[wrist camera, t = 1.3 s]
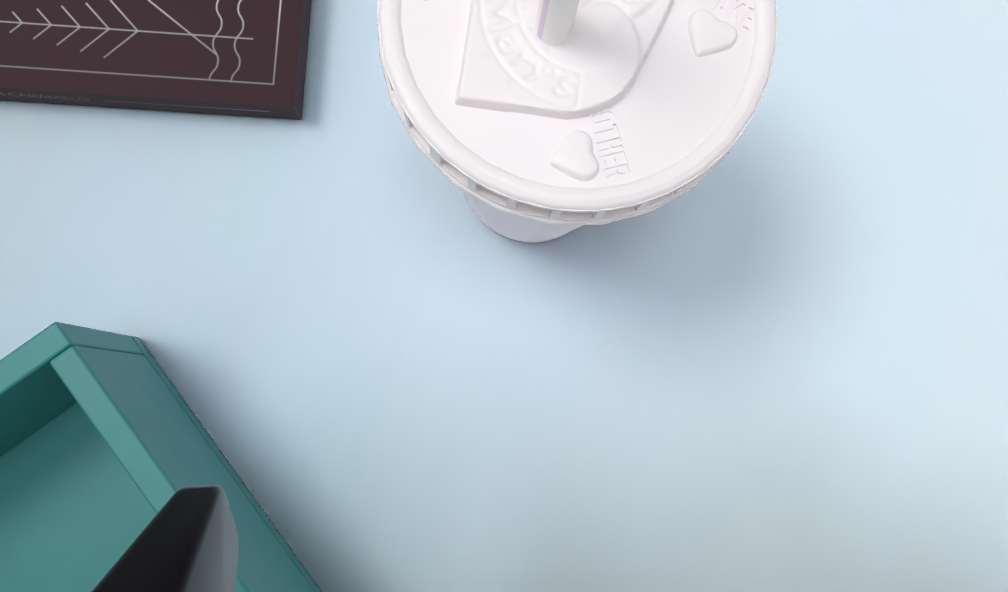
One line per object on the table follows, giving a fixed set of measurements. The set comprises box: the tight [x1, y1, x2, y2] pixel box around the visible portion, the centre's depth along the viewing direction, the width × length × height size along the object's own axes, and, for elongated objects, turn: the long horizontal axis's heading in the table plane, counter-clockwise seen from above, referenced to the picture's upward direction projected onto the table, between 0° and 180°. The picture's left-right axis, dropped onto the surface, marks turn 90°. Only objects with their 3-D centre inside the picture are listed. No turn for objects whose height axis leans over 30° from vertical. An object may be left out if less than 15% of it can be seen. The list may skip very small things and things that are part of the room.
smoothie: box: [378, 0, 777, 242], centre depth 16 cm, size 6×6×14 cm
